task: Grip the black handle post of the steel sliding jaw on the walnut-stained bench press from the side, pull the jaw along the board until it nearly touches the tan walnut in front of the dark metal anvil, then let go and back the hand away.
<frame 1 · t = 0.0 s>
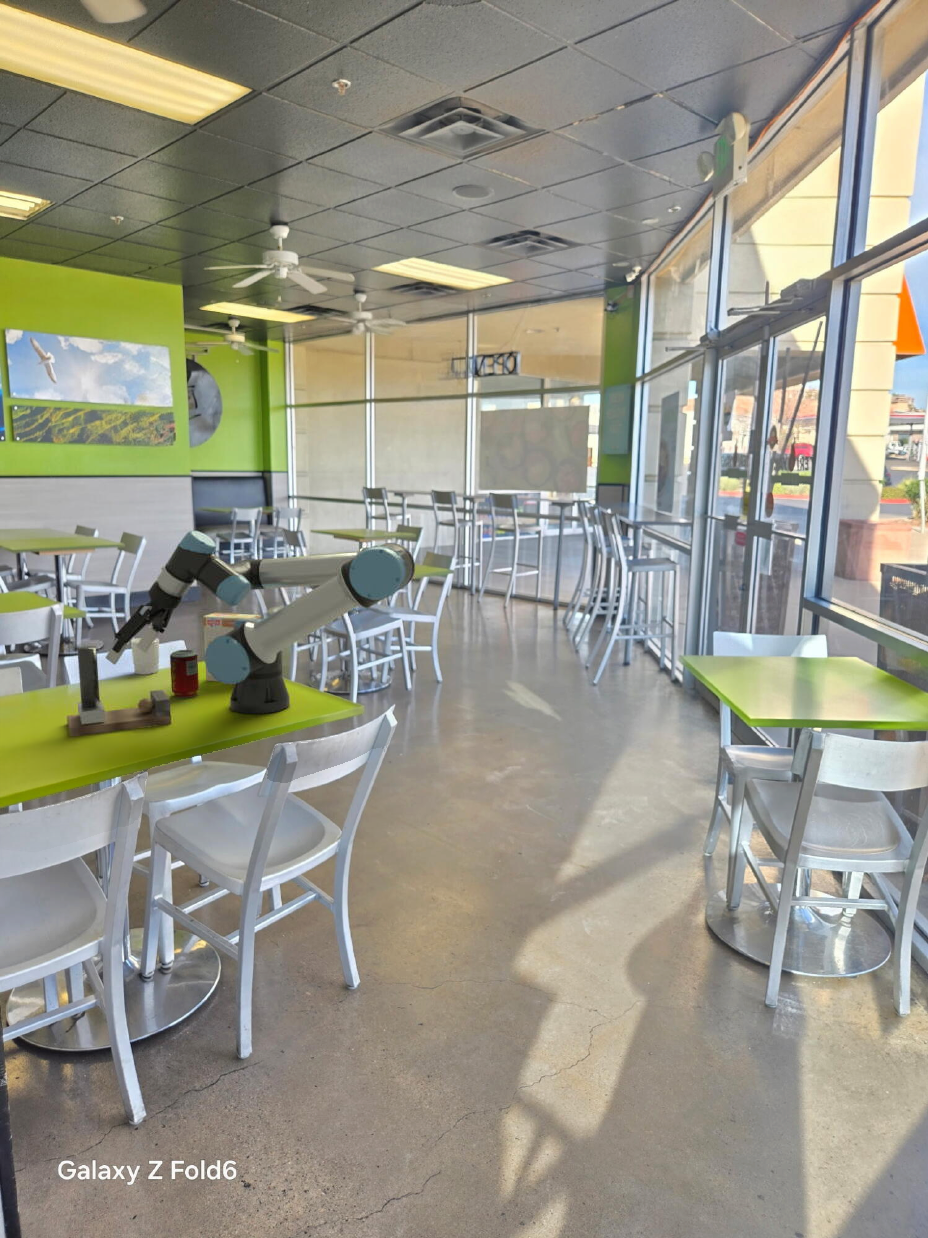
hand: (126, 655, 198), 15 cm above the table, tool tilted 35°, fingers open, 13 cm apart
white cup: (146, 672, 243), on the table
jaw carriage: (89, 683, 188), point 11 cm above the table, slide at 0.0 cm
nutcracker bench: (119, 723, 193), on the table
coffeecake box: (234, 680, 236), on the table
soda can: (185, 696, 219), on the table
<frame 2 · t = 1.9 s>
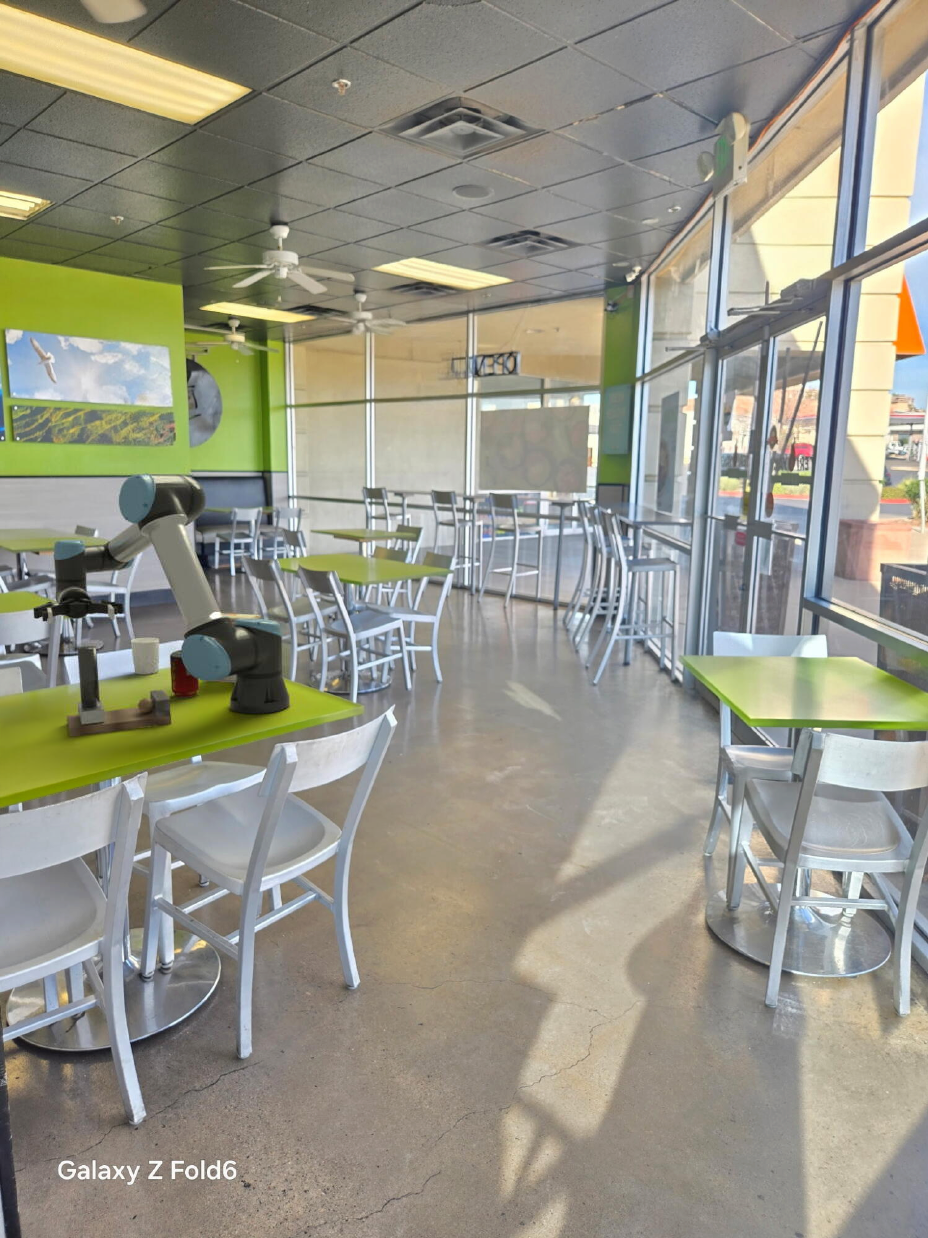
hand: (82, 616, 193), 25 cm above the table, tool horizontal, fingers open, 13 cm apart
nothing on the table moved.
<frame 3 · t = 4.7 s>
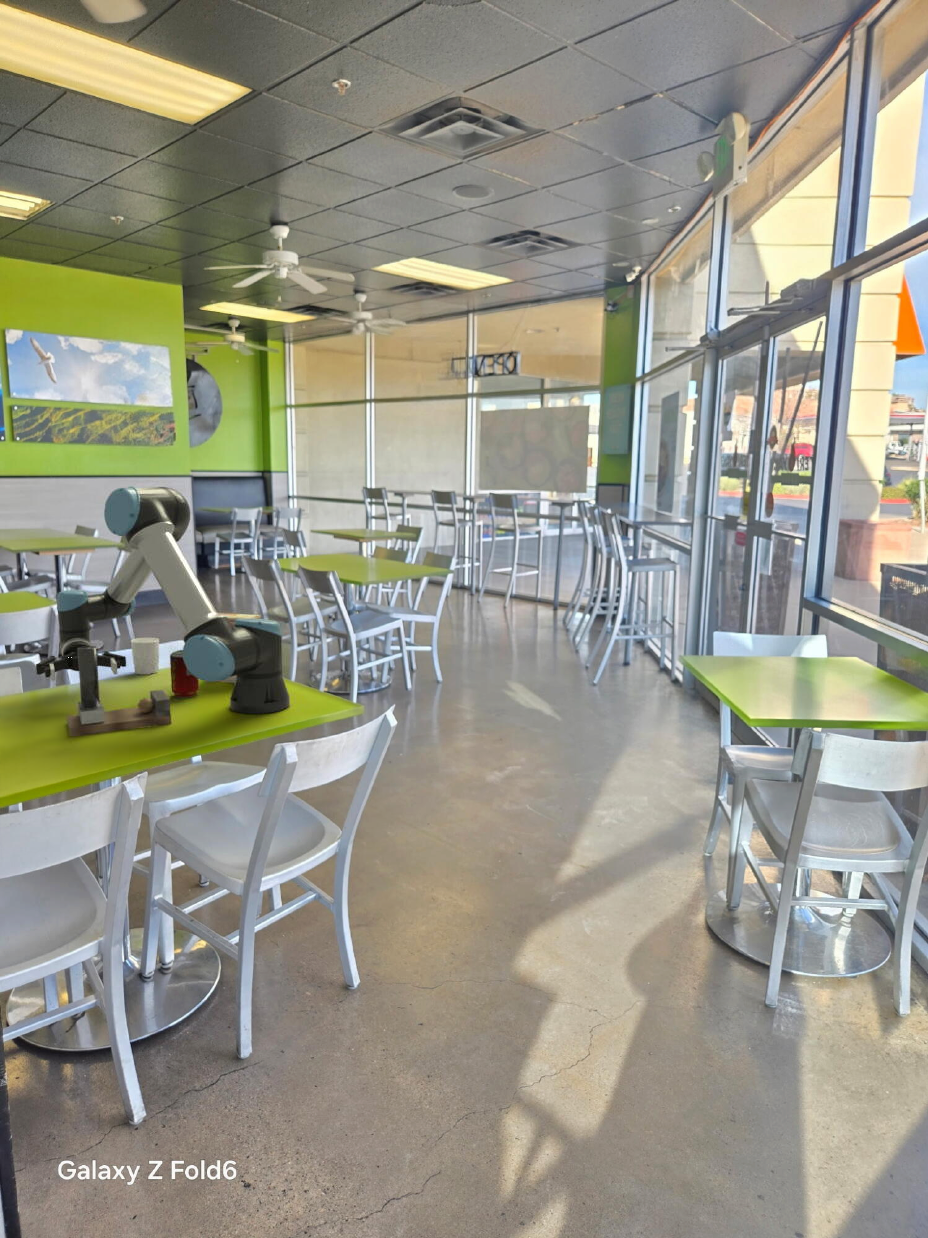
hand: (84, 672, 192), 12 cm above the table, tool horizontal, fingers open, 13 cm apart
nothing on the table moved.
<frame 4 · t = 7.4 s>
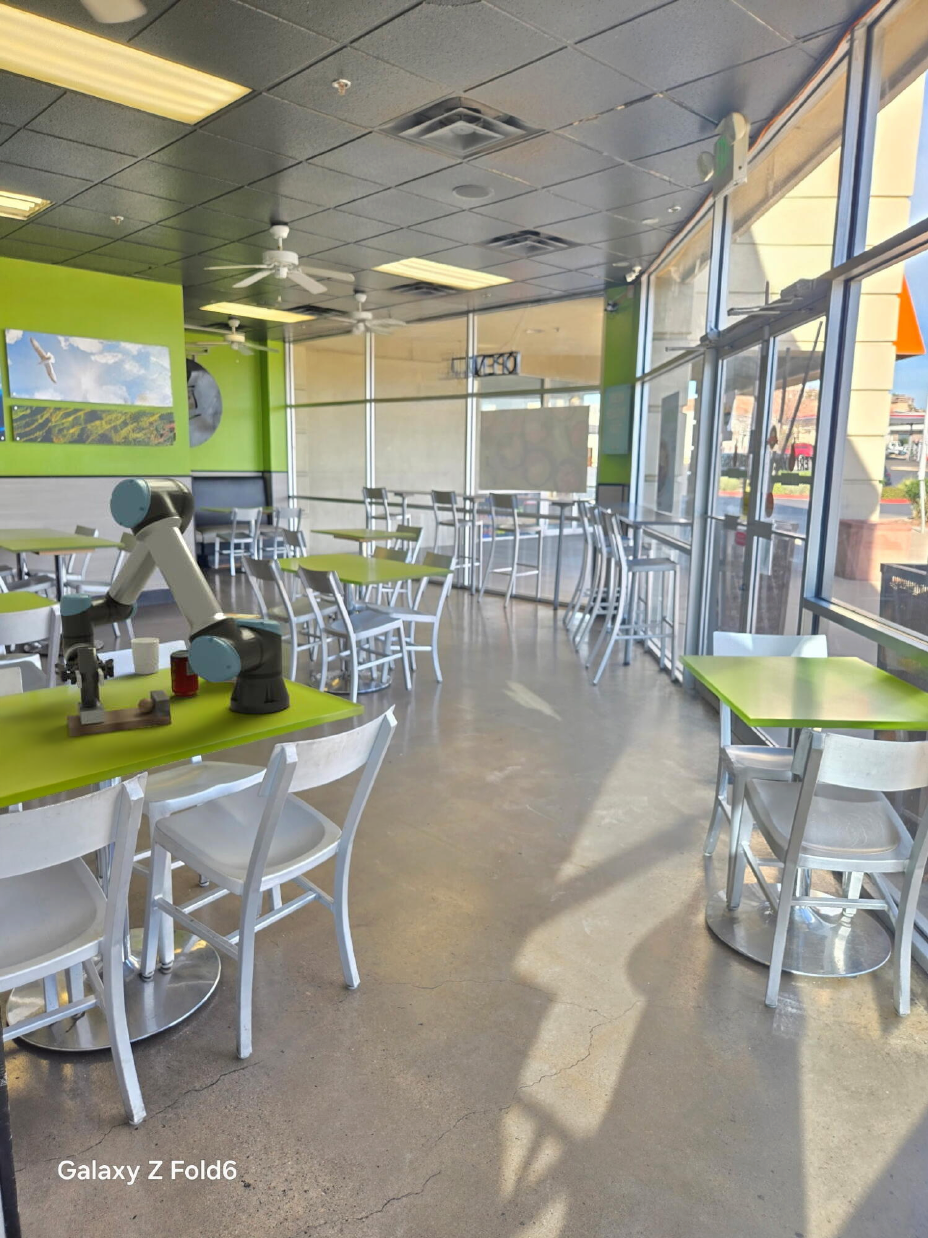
hand: (91, 681, 183), 12 cm above the table, tool horizontal, fingers closed on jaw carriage, 4 cm apart
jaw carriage: (89, 683, 188), point 11 cm above the table, slide at 0.0 cm, touching gripper
everything else where it was.
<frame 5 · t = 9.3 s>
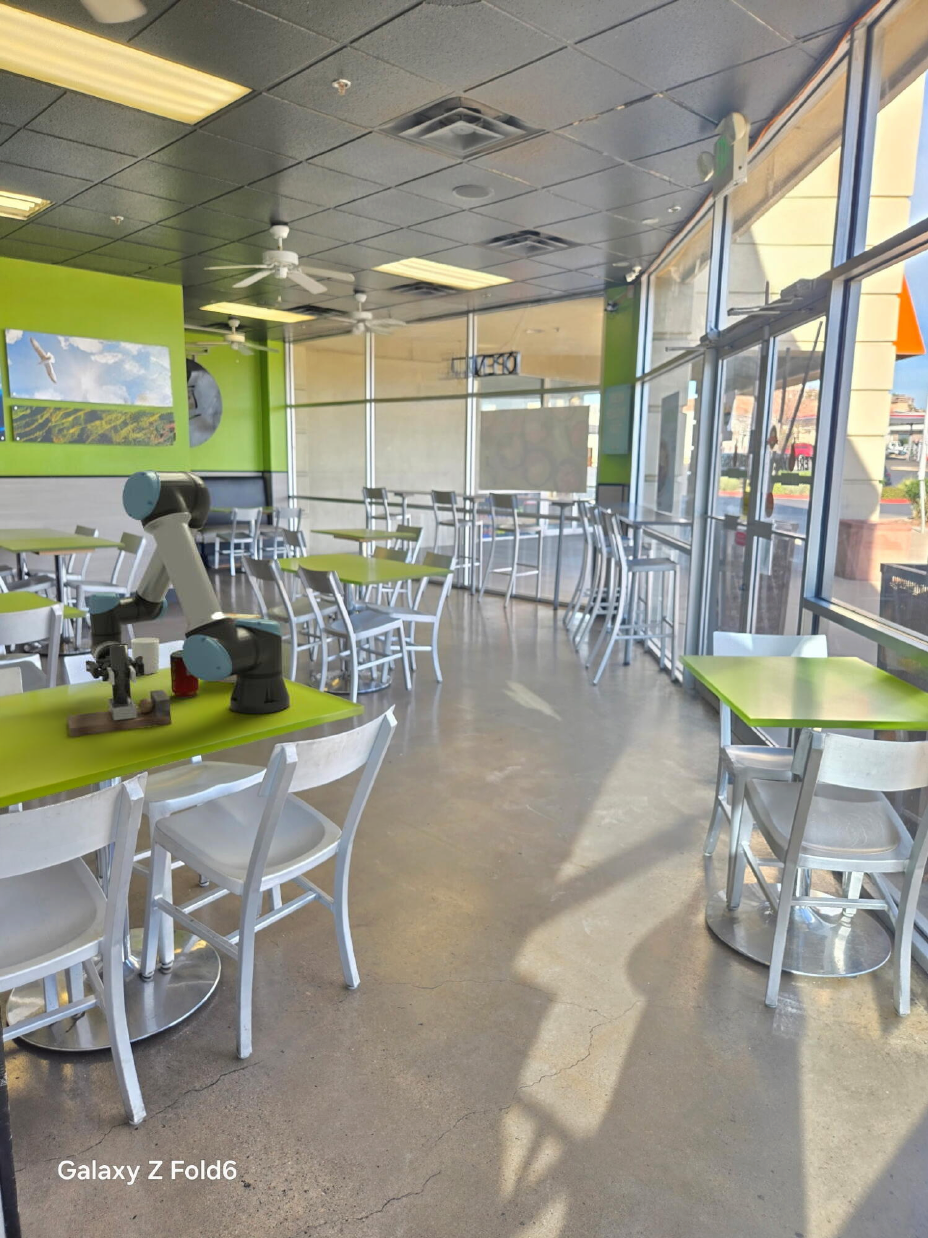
hand: (123, 678, 186), 12 cm above the table, tool horizontal, fingers closed on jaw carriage, 4 cm apart
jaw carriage: (120, 680, 191), point 11 cm above the table, slide at 6.9 cm, touching gripper
everything else where it was.
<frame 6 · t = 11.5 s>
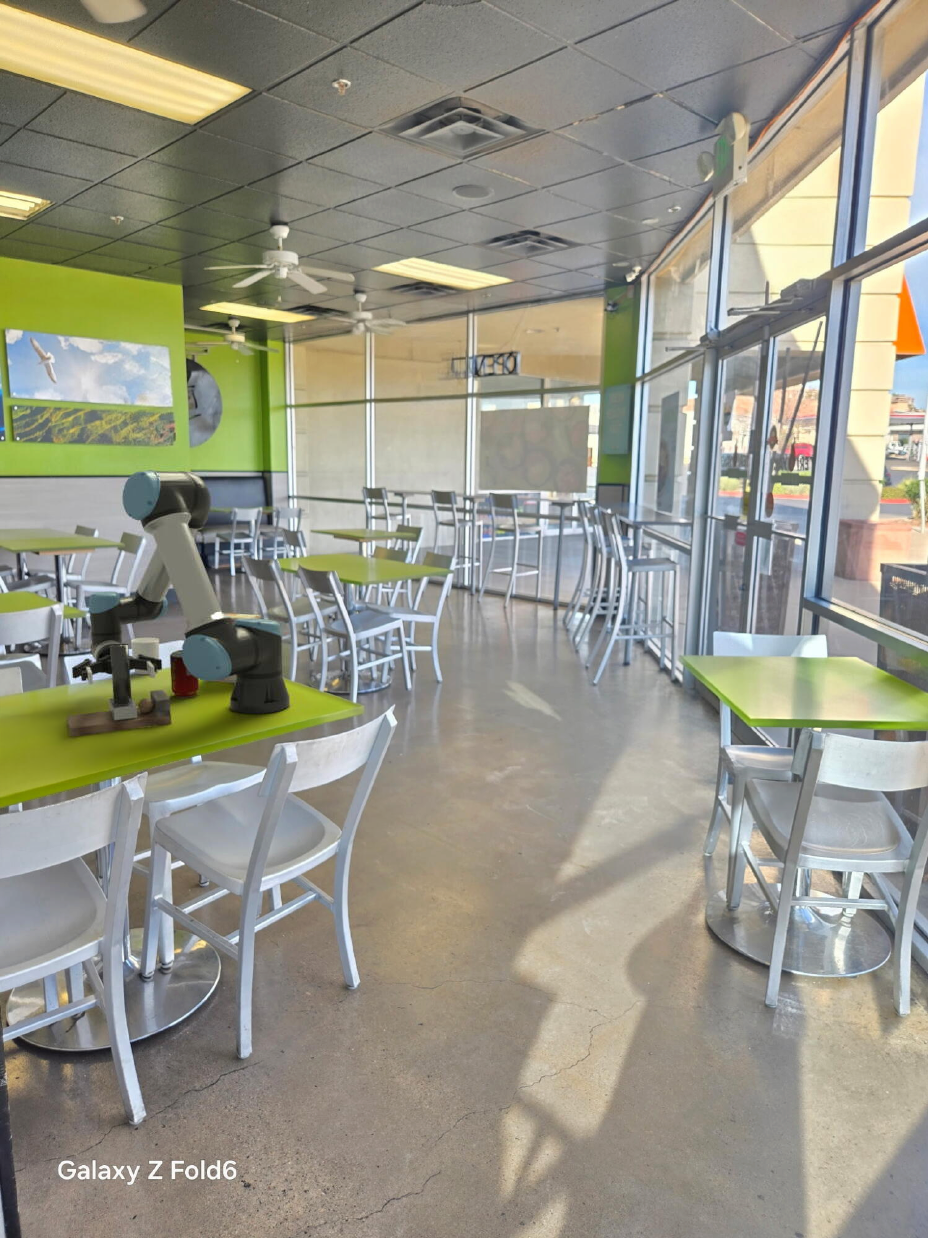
hand: (122, 675, 189), 13 cm above the table, tool horizontal, fingers open, 13 cm apart
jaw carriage: (121, 679, 191), point 11 cm above the table, slide at 7.0 cm
everything else where it was.
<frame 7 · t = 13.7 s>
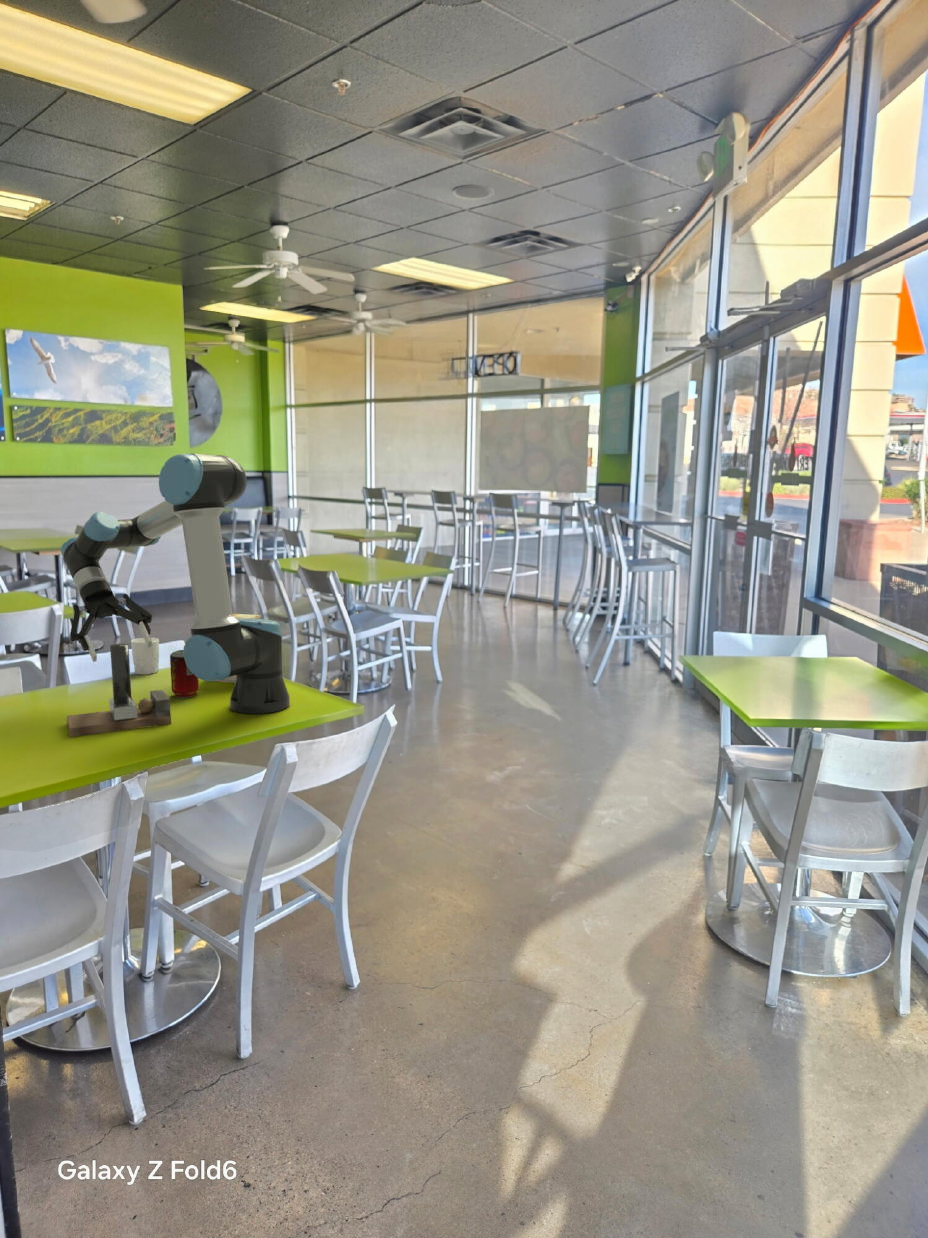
hand: (123, 651, 202), 15 cm above the table, tool tilted 45°, fingers open, 13 cm apart
nothing on the table moved.
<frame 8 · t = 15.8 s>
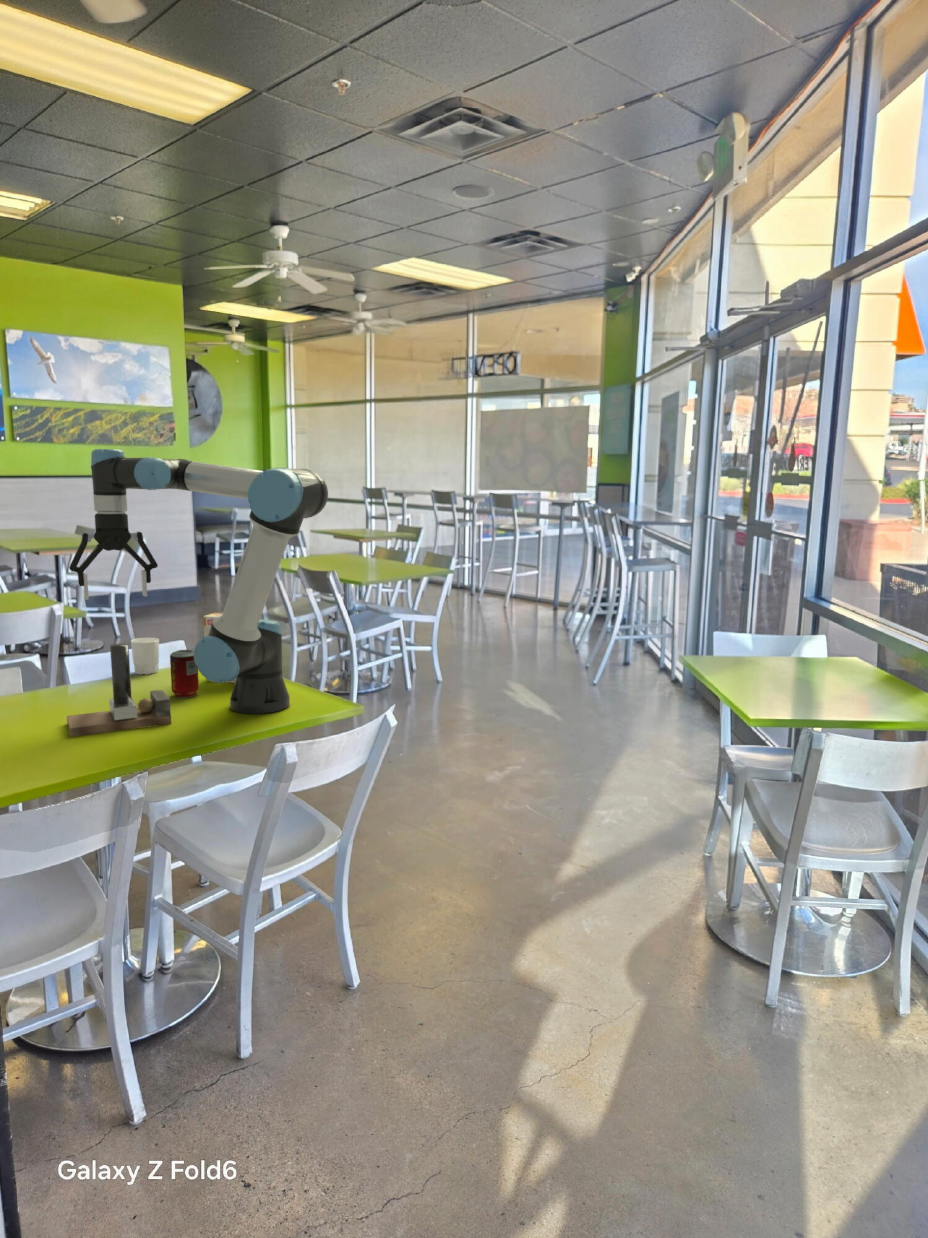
hand: (116, 597, 201), 29 cm above the table, tool pointing down, fingers open, 13 cm apart
nothing on the table moved.
at the end: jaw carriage slide at 7.0 cm; the gripper is holding nothing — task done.
